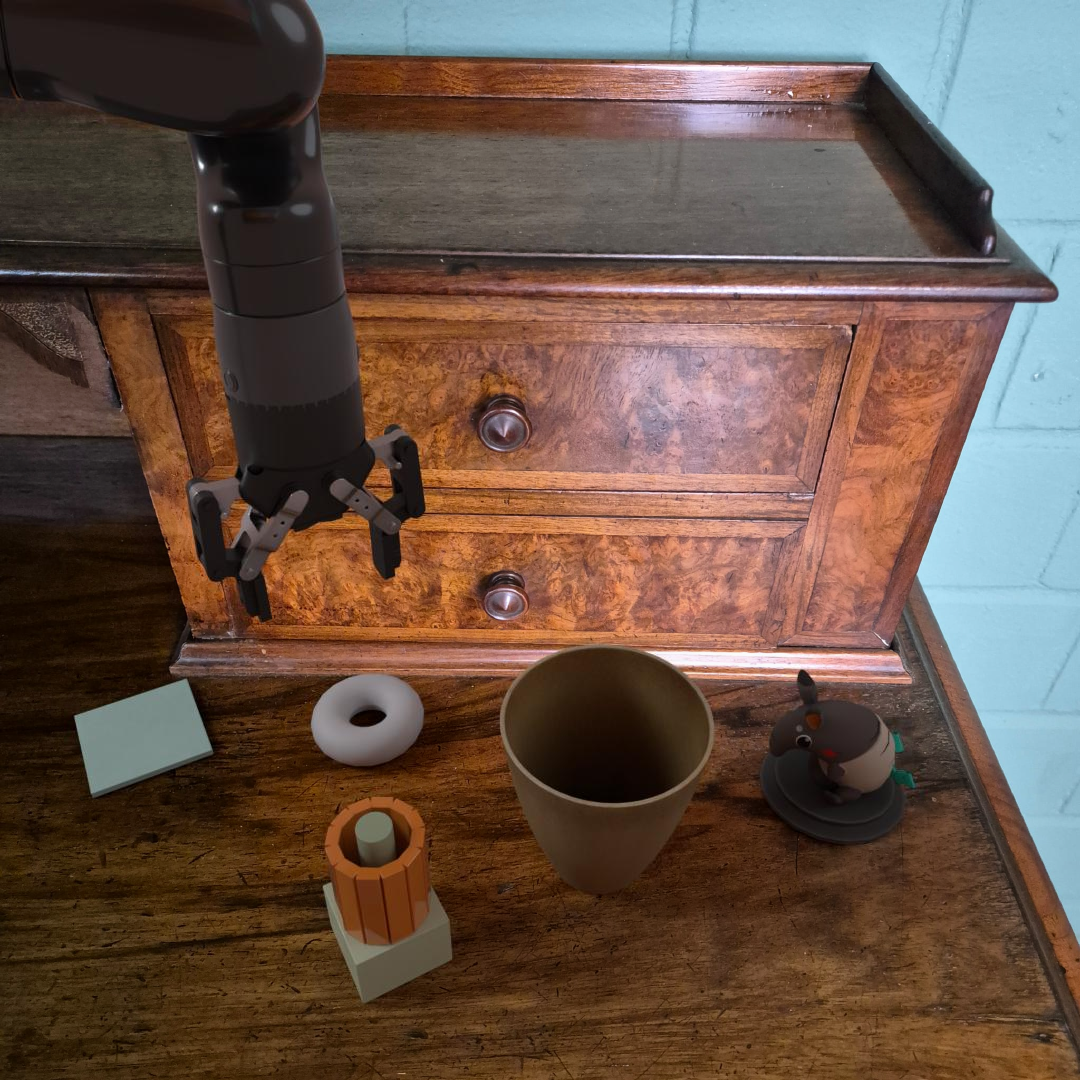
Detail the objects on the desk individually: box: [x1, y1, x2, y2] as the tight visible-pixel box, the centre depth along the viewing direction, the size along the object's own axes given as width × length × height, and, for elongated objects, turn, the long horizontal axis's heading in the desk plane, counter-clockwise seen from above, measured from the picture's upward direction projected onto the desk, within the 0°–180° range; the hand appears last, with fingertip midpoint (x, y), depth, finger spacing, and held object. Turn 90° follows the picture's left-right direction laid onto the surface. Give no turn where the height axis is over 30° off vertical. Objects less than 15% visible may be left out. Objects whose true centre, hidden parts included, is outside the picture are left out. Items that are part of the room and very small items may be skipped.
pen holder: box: [324, 796, 432, 945], centre depth 64 cm, size 6×6×8 cm
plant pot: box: [499, 643, 715, 895], centre depth 71 cm, size 15×15×16 cm
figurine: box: [758, 669, 916, 845], centre depth 77 cm, size 11×12×12 cm
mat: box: [73, 678, 214, 799], centre depth 85 cm, size 10×10×1 cm
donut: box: [310, 673, 425, 767], centre depth 85 cm, size 10×3×10 cm
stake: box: [322, 812, 453, 1005], centre depth 65 cm, size 7×7×14 cm
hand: (324, 592), depth 63 cm, fingers open, 8 cm apart
